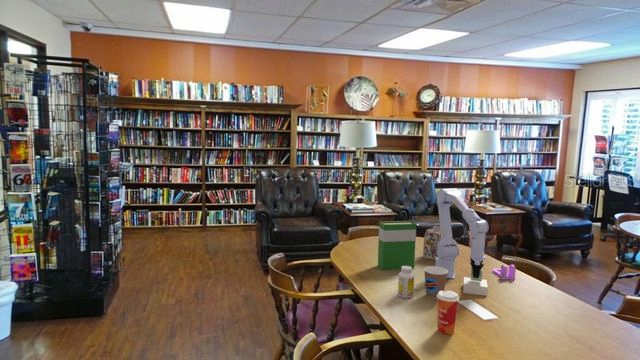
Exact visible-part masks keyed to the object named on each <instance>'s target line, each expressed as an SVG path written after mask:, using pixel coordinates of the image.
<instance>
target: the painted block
mask: <svg viewBox="0 0 640 360" xmlns="http://www.w3.org/2000/svg"><path fill="white" fill-rule="evenodd" d="M462 285H463V286H462V290H463V292H462V293H463V294H468V295H469V294H470V295H478V296H485V297H487V296H488V292H489V291H488V290H489V289H488V288H489V286H488V281H487V279H483V278H482V282H481V281H473V280H471V277H467V276H464V277H463V283H462Z"/></svg>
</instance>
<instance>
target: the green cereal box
mask: <svg viewBox="0 0 640 360" xmlns="http://www.w3.org/2000/svg"><path fill="white" fill-rule="evenodd" d="M378 225H379V226H378V244H377V245H378V246H377V247H378V248H377V249H378V250H377V266H378V267H379V269H380V270H382V271H390V270H391V271H393V270H394V269H395V270H401V267H402V266H410V267H412V270H413V269H415V262H416V261H415V259H416V257H415V256H416V240H417V239H416V237H417V223H412V220H397V221H396V220H395V221H389V220H388V221H379V223H378ZM395 270H394V271H395Z"/></svg>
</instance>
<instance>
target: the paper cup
mask: <svg viewBox="0 0 640 360" xmlns="http://www.w3.org/2000/svg"><path fill="white" fill-rule="evenodd" d="M437 298H438V299H437V331H438V332H439V333H440V334H443V335H449V336H451V335H453V334H454V333H455V328H456V320H457V311H458V303H459V301H460V297H459V294H458V293H457V292H454V291H452V290H444V291H439V292H438V294H437Z"/></svg>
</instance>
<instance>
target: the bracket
mask: <svg viewBox="0 0 640 360" xmlns="http://www.w3.org/2000/svg"><path fill="white" fill-rule="evenodd" d="M492 273H493V274H495V275H496V276H498V277H500V278H501V279H502V278H503V280H505V279H511V280H516V266H515V264H509V265H508V266H507V264H501V266H500V268H492Z"/></svg>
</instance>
